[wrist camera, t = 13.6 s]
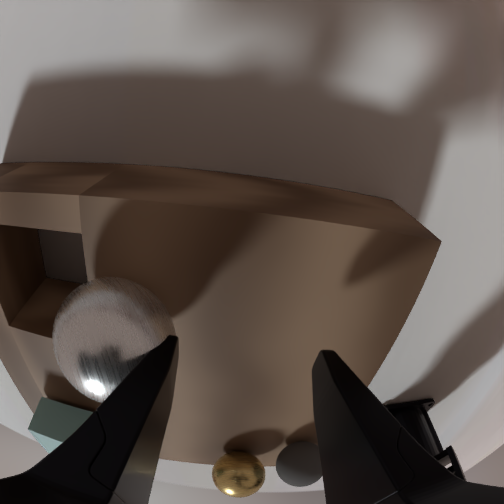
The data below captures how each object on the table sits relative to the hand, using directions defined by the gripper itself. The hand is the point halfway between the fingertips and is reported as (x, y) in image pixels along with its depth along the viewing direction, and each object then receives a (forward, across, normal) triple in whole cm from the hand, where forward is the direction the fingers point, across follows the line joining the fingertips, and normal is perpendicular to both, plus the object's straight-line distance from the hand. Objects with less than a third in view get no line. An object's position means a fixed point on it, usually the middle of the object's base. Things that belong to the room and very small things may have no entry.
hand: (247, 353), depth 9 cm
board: (+6, +3, +6) cm, 9 cm away
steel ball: (0, +4, 0) cm, 4 cm away
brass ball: (0, -1, +12) cm, 12 cm away
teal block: (+1, +8, +11) cm, 14 cm away
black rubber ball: (0, -5, +10) cm, 11 cm away
